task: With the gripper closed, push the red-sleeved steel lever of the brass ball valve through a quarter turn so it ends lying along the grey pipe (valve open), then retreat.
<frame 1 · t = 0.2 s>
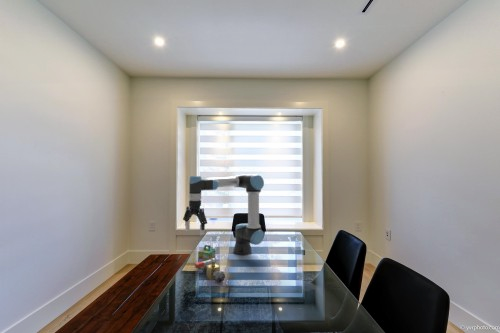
hand: (194, 233, 142), 27 cm above the table, fingers open, 13 cm apart
chalk box: (206, 267, 155), on the table
valve: (213, 277, 141), on the table
lever: (205, 263, 138), point 10 cm above the table, hinge at 0.0°
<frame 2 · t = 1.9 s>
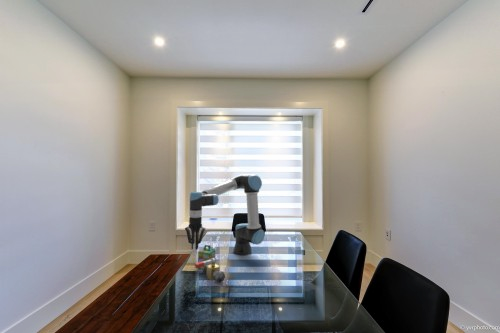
hand: (194, 254, 139), 15 cm above the table, fingers closed
nothing on the table moved.
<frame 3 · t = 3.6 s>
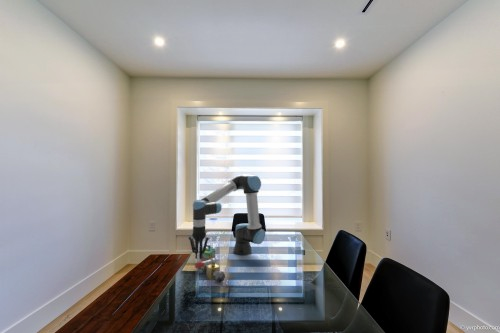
hand: (198, 263, 137), 10 cm above the table, fingers closed
lever: (205, 263, 138), point 10 cm above the table, hinge at 0.0°, touching gripper
everything else where it was.
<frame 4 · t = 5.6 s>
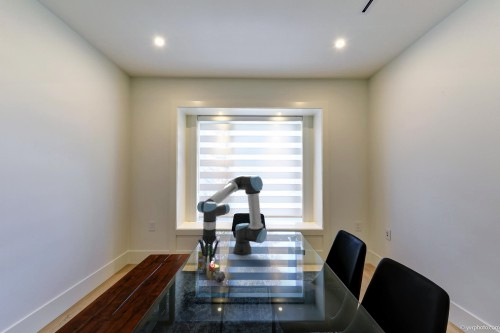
hand: (208, 267, 133), 10 cm above the table, fingers closed
lever: (212, 264, 136), point 10 cm above the table, hinge at 54.7°, touching gripper
everything else where it was.
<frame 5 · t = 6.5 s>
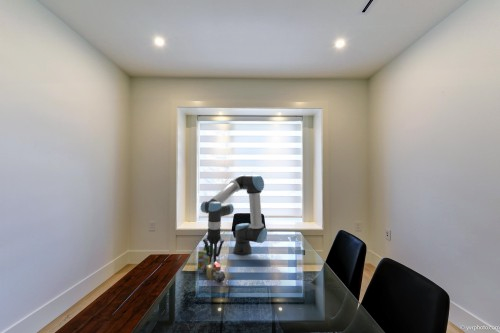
hand: (212, 267, 133), 10 cm above the table, fingers closed
lever: (215, 264, 136), point 10 cm above the table, hinge at 75.3°, touching gripper
everything else where it was.
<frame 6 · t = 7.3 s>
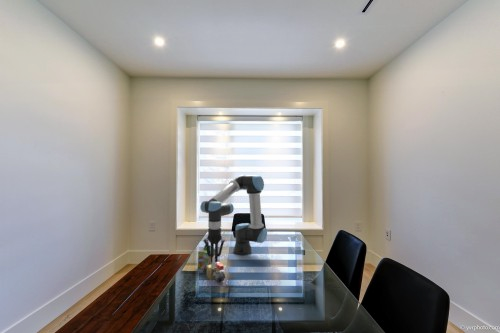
hand: (214, 267, 132), 10 cm above the table, fingers closed
lever: (216, 263, 137), point 10 cm above the table, hinge at 85.0°
everything else where it was.
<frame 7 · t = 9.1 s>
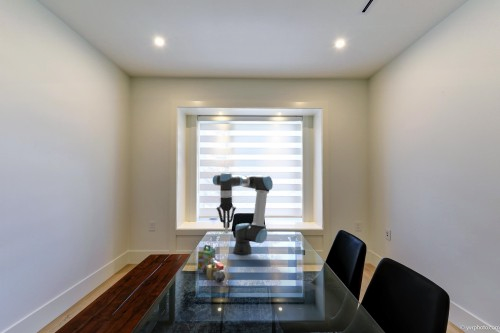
hand: (226, 232, 145), 27 cm above the table, fingers closed
nothing on the table moved.
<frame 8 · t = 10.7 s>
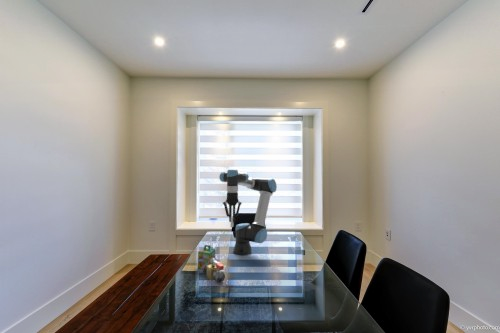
hand: (232, 226, 151), 29 cm above the table, fingers closed
nothing on the table moved.
at the end: lever at +85° (first picture: +0°) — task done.
